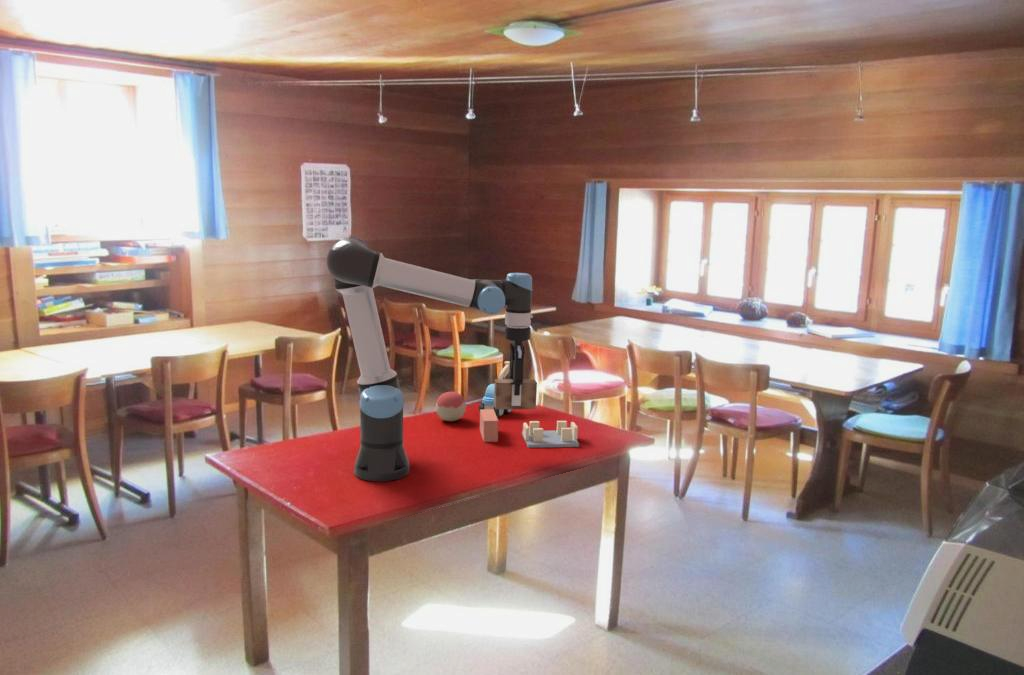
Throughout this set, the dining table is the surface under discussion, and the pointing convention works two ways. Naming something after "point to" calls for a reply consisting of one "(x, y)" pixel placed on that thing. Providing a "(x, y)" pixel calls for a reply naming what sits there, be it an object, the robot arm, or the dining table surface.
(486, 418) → the salmon pink block
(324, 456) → the dining table surface
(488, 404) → the toy excavator
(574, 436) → the jig
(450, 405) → the toy
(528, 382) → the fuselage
